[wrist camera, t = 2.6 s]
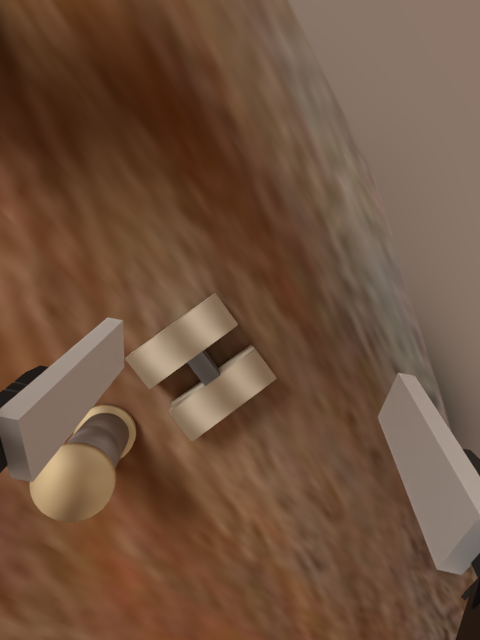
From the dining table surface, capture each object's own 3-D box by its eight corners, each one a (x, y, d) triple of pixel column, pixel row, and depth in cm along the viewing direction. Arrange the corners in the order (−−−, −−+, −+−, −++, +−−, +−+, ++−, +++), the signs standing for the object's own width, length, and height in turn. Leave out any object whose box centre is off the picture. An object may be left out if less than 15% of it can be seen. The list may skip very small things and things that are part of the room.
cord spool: (78, 462, 43) (33, 526, 31) (74, 406, 43) (26, 450, 31) (138, 456, 44) (115, 517, 32) (134, 402, 44) (110, 443, 32)
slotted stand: (192, 428, 45) (191, 442, 41) (131, 352, 43) (124, 358, 39) (270, 371, 46) (276, 378, 42) (214, 293, 44) (215, 293, 40)
